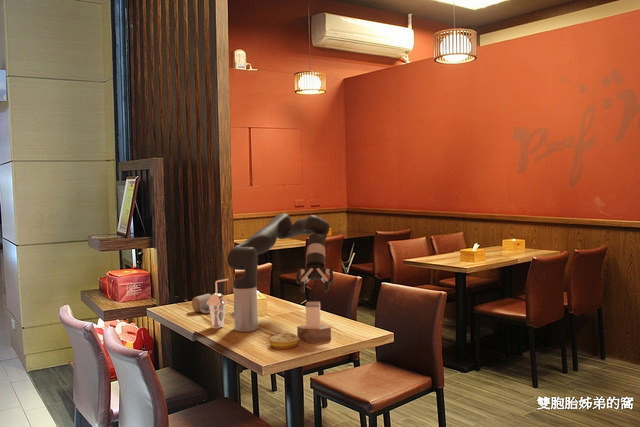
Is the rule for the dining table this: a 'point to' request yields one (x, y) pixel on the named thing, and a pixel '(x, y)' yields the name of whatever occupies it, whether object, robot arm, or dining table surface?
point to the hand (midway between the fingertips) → (314, 291)
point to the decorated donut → (284, 341)
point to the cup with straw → (217, 307)
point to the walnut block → (314, 334)
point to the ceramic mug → (201, 303)
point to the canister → (313, 315)
